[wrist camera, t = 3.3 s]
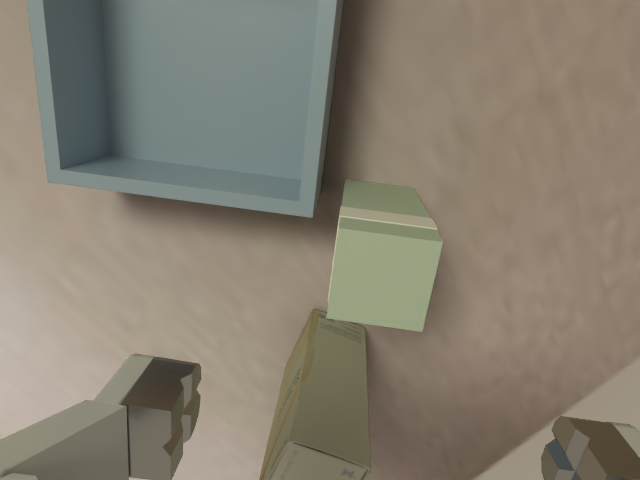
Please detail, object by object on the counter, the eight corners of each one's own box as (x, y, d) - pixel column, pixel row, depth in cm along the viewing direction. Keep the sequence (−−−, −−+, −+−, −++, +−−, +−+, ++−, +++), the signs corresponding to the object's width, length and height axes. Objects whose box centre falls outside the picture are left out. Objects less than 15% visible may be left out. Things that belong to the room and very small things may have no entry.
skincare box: (313, 305, 31) (287, 434, 20) (369, 328, 31) (375, 467, 20) (283, 370, 33) (245, 519, 22) (335, 390, 34) (324, 548, 22)
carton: (414, 187, 27) (444, 241, 18) (402, 252, 29) (423, 333, 20) (344, 178, 28) (337, 226, 18) (335, 243, 29) (325, 318, 20)
